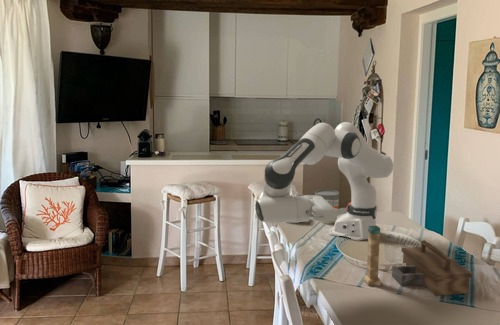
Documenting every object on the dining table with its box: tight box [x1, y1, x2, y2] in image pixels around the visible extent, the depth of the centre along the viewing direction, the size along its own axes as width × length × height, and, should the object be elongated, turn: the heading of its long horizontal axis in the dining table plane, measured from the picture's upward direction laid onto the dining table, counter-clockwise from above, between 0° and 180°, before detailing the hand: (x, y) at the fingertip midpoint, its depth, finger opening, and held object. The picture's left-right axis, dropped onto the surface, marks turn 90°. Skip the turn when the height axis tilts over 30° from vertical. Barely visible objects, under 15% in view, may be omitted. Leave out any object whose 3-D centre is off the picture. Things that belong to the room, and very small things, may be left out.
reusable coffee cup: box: [314, 189, 340, 225], centre depth 253 cm, size 13×12×15 cm
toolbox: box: [391, 240, 473, 296], centre depth 181 cm, size 21×27×12 cm
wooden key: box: [363, 225, 382, 287], centre depth 178 cm, size 4×4×21 cm
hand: (341, 206), depth 173 cm, fingers open, 8 cm apart
